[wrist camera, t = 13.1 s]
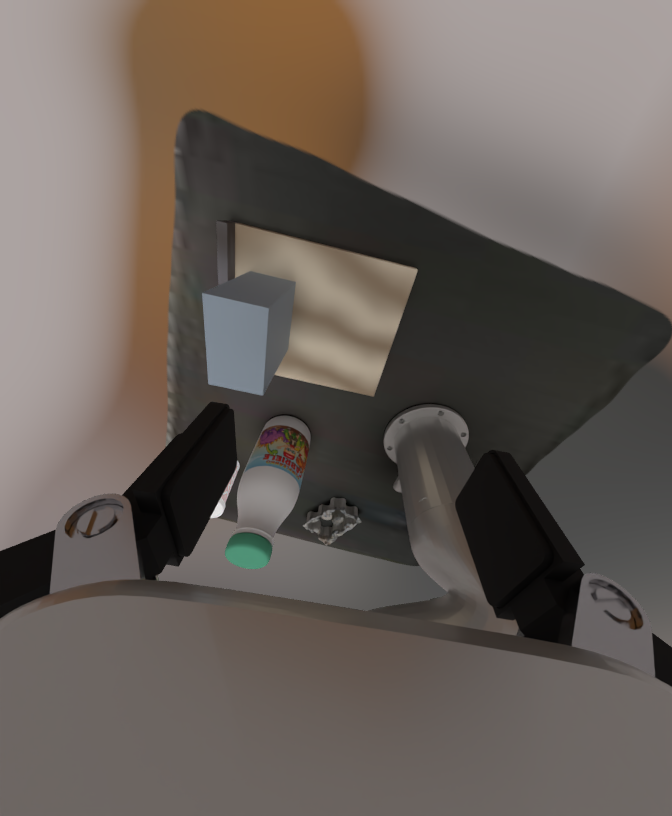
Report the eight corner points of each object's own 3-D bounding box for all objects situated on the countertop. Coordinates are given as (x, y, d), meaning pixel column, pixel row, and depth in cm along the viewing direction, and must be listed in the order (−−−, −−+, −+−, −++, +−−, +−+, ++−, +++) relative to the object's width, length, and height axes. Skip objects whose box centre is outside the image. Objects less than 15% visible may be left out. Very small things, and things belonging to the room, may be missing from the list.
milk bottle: (303, 456, 47) (274, 583, 30) (259, 442, 45) (204, 567, 29) (318, 423, 42) (293, 551, 26) (270, 407, 41) (212, 530, 25)
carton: (288, 349, 34) (263, 395, 25) (246, 340, 34) (206, 383, 25) (295, 282, 30) (268, 308, 21) (248, 270, 29) (199, 292, 20)
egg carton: (326, 529, 59) (324, 547, 56) (301, 512, 56) (297, 530, 53) (364, 511, 55) (364, 530, 51) (339, 492, 52) (338, 511, 48)
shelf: (373, 390, 38) (374, 404, 36) (230, 359, 37) (219, 370, 34) (415, 267, 29) (421, 272, 27) (228, 220, 28) (214, 219, 25)
